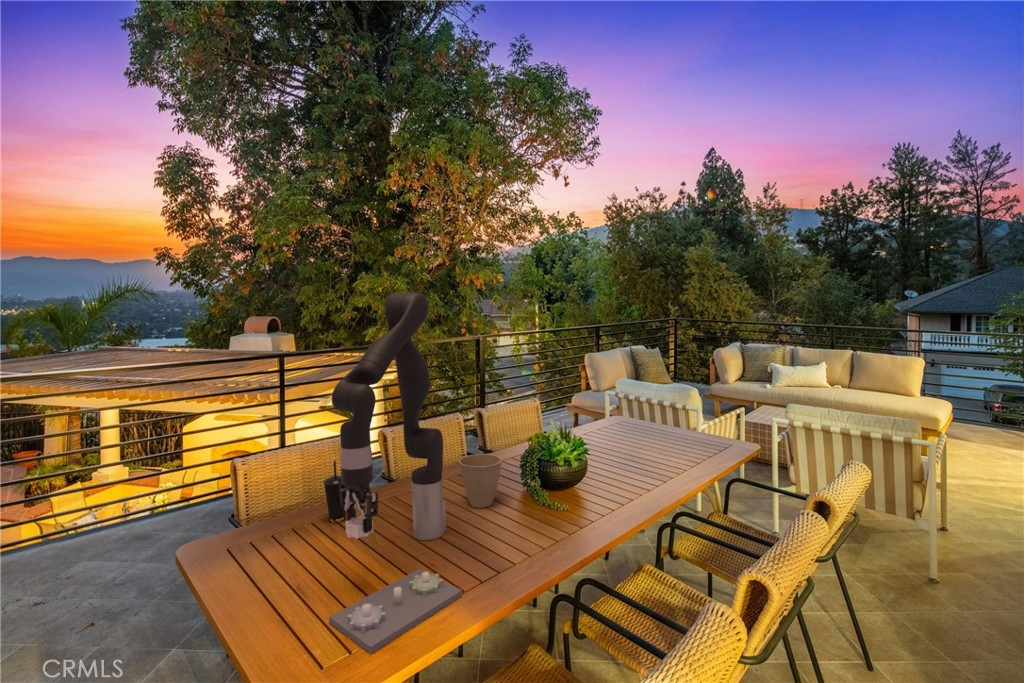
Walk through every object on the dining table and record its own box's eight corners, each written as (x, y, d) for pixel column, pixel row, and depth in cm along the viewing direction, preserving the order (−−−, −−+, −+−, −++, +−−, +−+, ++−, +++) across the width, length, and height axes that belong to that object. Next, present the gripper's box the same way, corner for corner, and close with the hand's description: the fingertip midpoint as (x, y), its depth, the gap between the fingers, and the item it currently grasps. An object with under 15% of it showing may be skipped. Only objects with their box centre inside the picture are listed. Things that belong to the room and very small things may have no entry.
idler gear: (363, 524, 132) (362, 513, 131) (378, 531, 128) (377, 519, 127) (340, 533, 127) (340, 521, 127) (355, 541, 123) (355, 529, 122)
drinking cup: (352, 514, 172) (349, 457, 171) (345, 524, 165) (342, 464, 163) (329, 515, 172) (326, 457, 171) (321, 525, 165) (318, 465, 163)
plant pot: (508, 508, 176) (507, 463, 174) (467, 515, 170) (466, 469, 169) (494, 493, 189) (493, 451, 188) (455, 499, 184) (454, 456, 183)
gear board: (419, 574, 134) (418, 556, 134) (461, 596, 124) (461, 576, 123) (329, 623, 114) (328, 602, 114) (371, 654, 104) (370, 630, 103)
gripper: (386, 464, 124) (389, 530, 125) (353, 454, 133) (356, 515, 135) (359, 473, 118) (363, 542, 120) (327, 461, 127) (330, 525, 129)
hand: (359, 527), depth 127 cm, fingers closed on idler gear, 6 cm apart
